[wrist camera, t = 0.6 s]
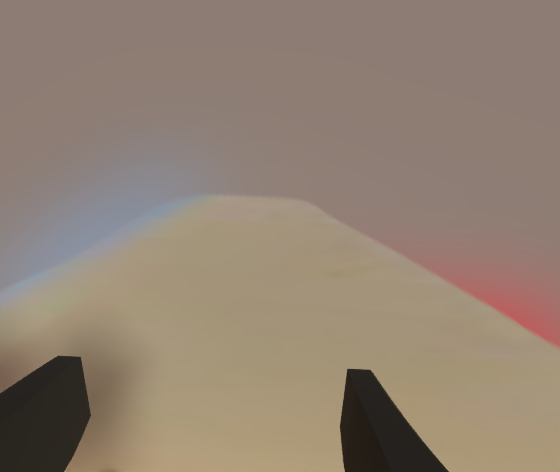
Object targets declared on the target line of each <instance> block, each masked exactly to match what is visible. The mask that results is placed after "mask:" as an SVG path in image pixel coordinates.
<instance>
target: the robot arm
mask: <svg viewBox="0 0 560 472" xmlns="http://www.w3.org/2000/svg"><path fill="white" fill-rule="evenodd" d="M90 416H91V414H90V408H89V402H88V397H87V391H86V385H85V379H84V373H83V367H82V362H81V357H71V356H57V357H56V358H54V359H52V360H51V361H49V362H47V363H46V364H44V365H43V366H41V367H40V368H38V369H36V370H35V371H33V372H32V373H30V374H29V375H27V376H26V377H24V378H23V379H21V380H20V381H18V382H17V383H15V384H14V385H12V386H11V387H9V388H8V389H6V390H5V391H3V392H2V393H0V472H64V471H65V469H66V467H67V466H68V464H69V462H70V460H71V459H72V457H73V455H74V453H75V451H76V449H77V446H78V444H79V442H80V440H81V437H82V435H83V433H84V430H85V428H86V426H87V423H88V421H89V418H90ZM340 432H341V442H342V452H343V462H344V469H345V472H449V471H448V470H447V469H446V468H445V467H444V466H443V464H442V463H441V462H440V461H439V460H438V459H437V457H436V456H435V455H434V454H433V453H432V452H431V450H430V449H429V448H428V447H427V446H426V444H425V443H424V442H423V441H422V439H421V438H420V437H419V436H418V434H417V433H416V432H415V430H414V429H413V428H412V427H411V425H410V424H409V423H408V422H407V420H406V419H405V418H404V416H403V415H402V414H401V412H400V411H399V410H398V408H397V407H396V405H395V404H394V403H393V401H392V400H391V398H390V397H389V396H388V394H387V393H386V391H385V390H384V388H383V387H382V385H381V384H380V383H379V381H378V380H377V378H376V377H375V375H374V374H373V373H372V371H371V370H362V369H347V377H346V384H345V392H344V400H343V407H342V415H341V423H340Z"/></svg>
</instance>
